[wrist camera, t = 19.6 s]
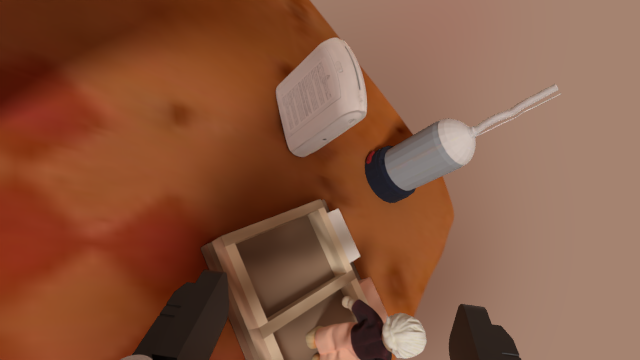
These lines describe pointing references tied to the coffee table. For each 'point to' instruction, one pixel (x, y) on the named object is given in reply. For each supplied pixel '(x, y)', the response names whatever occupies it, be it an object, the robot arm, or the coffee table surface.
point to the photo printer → (321, 97)
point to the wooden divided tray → (290, 280)
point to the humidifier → (431, 153)
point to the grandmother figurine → (368, 336)
